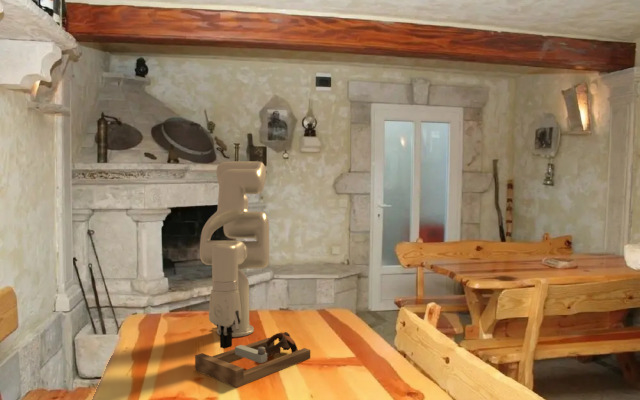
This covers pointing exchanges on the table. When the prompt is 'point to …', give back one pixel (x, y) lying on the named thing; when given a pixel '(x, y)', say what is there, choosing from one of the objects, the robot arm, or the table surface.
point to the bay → (235, 374)
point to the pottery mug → (280, 344)
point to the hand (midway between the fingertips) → (226, 346)
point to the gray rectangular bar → (251, 353)
